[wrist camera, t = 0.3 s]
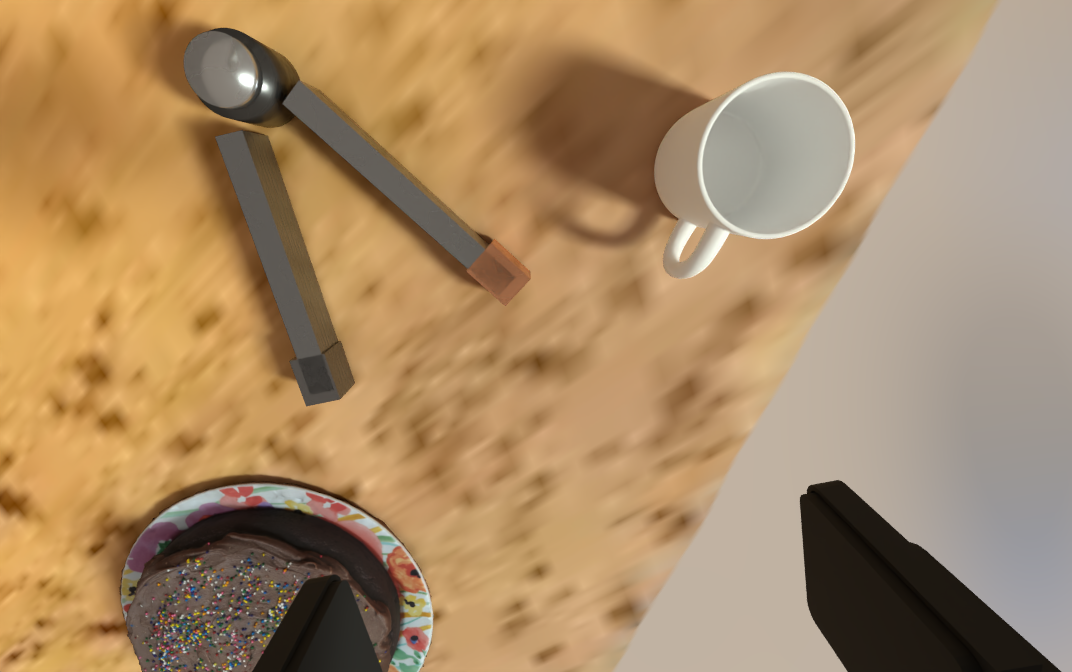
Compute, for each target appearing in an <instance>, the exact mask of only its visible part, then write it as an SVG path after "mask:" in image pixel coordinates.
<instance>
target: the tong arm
mask: <svg viewBox="0 0 1072 672" xmlns="http://www.w3.org/2000/svg"><path fill="white" fill-rule="evenodd" d="M184 71H185V75H186V78H187V80H188V82H189V84H190V86H191V88H192V89H193V90H194V92H195V93H196V94H197V95H198V96H199V97H200V98H201V99H203V100H204V101H206V102H207V103H209V104H211V105H214V106H217V107H221V108H225V109H229V110H241V109H244V108H247V107H249V106H250V105H252V104H253V103H254V102H255V101H256V100H257V98H258V96H259V95H260V92H261V89H262V85H263V74H262V69H261V66H260V63H259V61H258V59H257V57H256V56H255V54H254V53H253V52H252V50H251V49H250V48H249V47H248V46H246V45H245V44H244V43H242V42H241V41H239V40H237V39H235V38H233V37H231V36H230V35H227V34H225V33H222V32H218V31H208V32H204V33H201V34H199V35H197V36H196V37H195V38H193V39H192V40H191V42H190V43H189V45H188V46H187V48H186V51H185V55H184ZM282 104H283V105H284V106H286V107H287V108H288V109H289V110H290V111H291V112H292V113H293V114H295V115H296V116H297V117H298V118H299V119H300V120H301V121H302V122H304V123H305V124H306V125H307V126H308V127H309V128H310V129H311V130H312V131H314V132H315V133H316V134H317V135H318V136H319V137H320V138H321V139H323V140H324V141H325V142H326V143H327V144H328V145H329V146H330V147H332V148H333V149H334V150H335V151H336V152H337V153H338V154H339V155H341V156H342V157H343V158H344V159H345V160H346V161H347V162H348V163H350V164H351V165H352V166H353V167H354V168H355V169H356V170H357V171H358V172H360V173H361V174H362V175H363V176H364V177H365V178H366V179H367V180H369V181H370V182H371V183H372V184H373V185H374V186H375V187H376V188H378V189H379V190H380V191H381V192H382V193H383V194H384V195H385V196H387V197H388V198H389V199H390V200H391V201H392V202H393V203H394V204H396V205H397V206H398V207H399V208H400V209H401V210H402V211H403V212H404V213H406V214H407V215H408V216H409V217H410V218H411V219H412V220H413V221H415V222H416V223H417V224H418V225H419V226H420V227H421V228H422V229H424V230H425V231H426V232H427V233H428V234H429V235H430V236H431V237H433V238H434V239H435V240H436V241H437V242H438V243H439V244H440V245H442V246H443V247H444V248H445V249H446V250H447V251H448V252H449V253H450V254H452V255H453V256H454V257H455V258H456V259H457V260H458V261H459V262H461V263H462V264H463V265H464V266H465V267H466V268H467V271H466V272H467V273H469V274H470V275H471V276H472V277H473V278H474V279H475V280H476V281H478V282H479V283H480V284H481V285H482V286H483V287H484V288H485V289H487V290H488V291H489V292H490V293H491V294H492V295H493V296H494V297H496V298H497V299H498V300H499V301H500V302H501V303H502V304H503V305H505V306H506V305H507V304H508V303H509V302H510V301H511V299H512V298H513V297H514V296H515V295H516V294H517V293H518V292H519V291H520V290H521V289H522V288H523V287H524V285H525V284H526V283H527V282H528V281H529V280H530V279H531V276H530V271H529V270H528V269H527V268H526V267H525V266H524V265H522V264H521V263H520V262H519V261H518V260H517V259H516V258H515V257H514V256H513V255H512V254H510V253H509V252H508V251H507V250H506V249H505V248H504V247H503V246H502V245H501V244H500V243H499V242H497V241H496V240H495V239H494V240H493V241H492V242H491V243H490V244H488V243H487V242H485V241H484V240H483V239H482V238H481V237H480V236H479V235H478V234H477V233H476V232H474V231H473V230H472V229H471V228H470V227H469V226H468V225H467V224H466V223H465V222H464V221H462V220H461V219H460V218H459V217H458V216H457V215H456V214H455V213H454V212H453V211H452V210H450V209H449V208H448V207H447V206H446V205H445V204H444V203H443V202H442V201H441V200H439V199H438V198H437V197H436V196H435V195H434V194H433V193H432V192H431V191H430V190H429V189H427V188H426V187H425V186H424V185H423V184H422V183H421V182H420V181H419V180H418V179H417V178H415V177H414V176H413V175H412V174H411V173H410V172H409V171H408V170H407V169H406V168H404V167H403V166H402V165H401V164H400V163H399V162H398V161H397V160H396V159H395V158H394V157H392V156H391V155H390V154H389V153H388V152H387V151H386V150H385V149H384V148H383V147H382V146H380V145H379V144H378V143H377V142H376V141H375V140H374V139H373V138H372V137H371V136H369V135H368V134H367V133H366V132H365V131H364V130H363V129H362V128H361V127H360V126H359V125H357V124H356V123H355V122H354V121H353V120H352V119H351V118H350V117H349V116H348V115H347V114H345V113H344V112H343V111H342V110H341V109H340V108H339V107H338V106H337V105H336V104H334V103H333V102H332V101H331V100H330V99H329V98H328V97H327V96H326V95H325V94H324V93H322V92H321V91H320V90H318V89H316V88H314V87H312V86H310V85H308V84H306V83H304V82H302V81H300V80H299V81H298V82H297V84H296V85H295V87H294V88H293V89H292V91H291V92H290V93H289V95H288V96H287V98H286V99H285V100H284V102H283V103H282Z"/></svg>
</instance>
